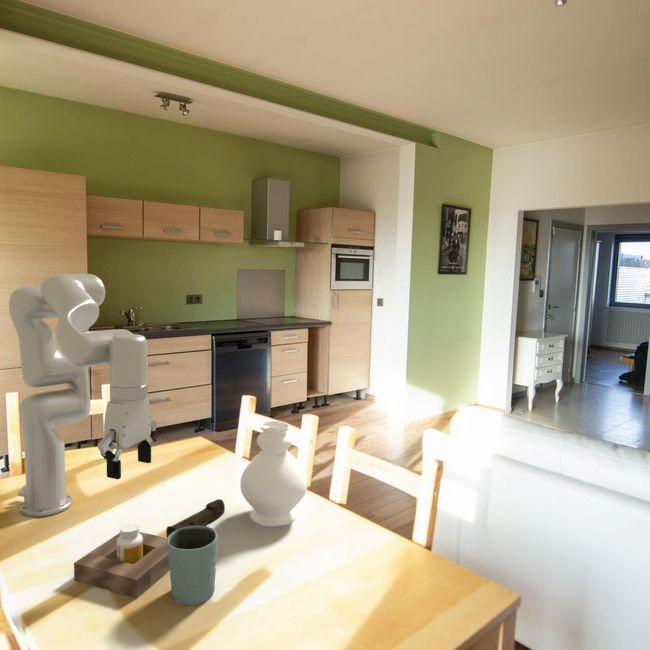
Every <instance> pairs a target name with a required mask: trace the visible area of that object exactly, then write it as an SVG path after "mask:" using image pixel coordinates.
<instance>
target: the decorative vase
mask: <svg viewBox="0 0 650 650" xmlns="http://www.w3.org/2000/svg"><path fill="white" fill-rule="evenodd" d="M260 430H261V431H262V432H261V433H260V434H259V435H258V436H257V438H256V444H257V446H258V447H259V448H260V449H261V451H260V452H259V453H258V454H257V455H255V456H254V457H253V458H252V459H251V460H250V462H249V463H248V464H247V466H246V467H245V469H244V471H243V472H242V475H241V478H240V492H241V494H242V496H243V498H244V499H245V501H247V503H248V504H249V505H250V506H251V508H252V510H251V511H250V512H249V513H250V514H249V517H250V520H251V522H253V523H255V524H256V525H258V526H261V527H267V528H268V527H269V528H271V527H272V528H276V527H278V528H279V527H283V525H284V526H287V525H289V524H292V523H293V522H294V521H296V519H297V518H298V514H297V513H298V512H297V510H296V509H295V507H296V506H297V505H298V504H299V503H300V501H301V500H302V499H303V498H304V497H305V495H306V493H307V490H308V477H307V473H306V471H305V469H304V468H303V466H302V465H301V463H300V462H299V460H297V458H296V457H295V456H294V455H293V454H292V453H291V452H290V451H289V450H288V449H289V448H290V447H291V446H292V444H293V441H294V440H293V436H292V434H291V433H289V432H288V431H289V430H290V424H289V423H288V422H285V421H280V420H279V421H278V420H274V421H273V420H272V421H267V422H265V421H264V422H263V423H261V424H260Z"/></svg>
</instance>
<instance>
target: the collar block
mask: <svg viewBox="0 0 650 650" xmlns="http://www.w3.org/2000/svg"><path fill="white" fill-rule="evenodd" d="M139 534H141V535H142V537H143V558H141V559H140V560H139V561H137V562H136V563H135V564H130V563H126V562H122V561H118V560H117V539H118V538H119V537H120V532H119V533H117V534H115V535H114V536H112V537H111V538H110V539H108V540H107V541H105V542H103V543H102V544H101V545H99V546H98V547H96V548H94V549H93V550H92V551H90V552H88V553H87V554H85V555H83V556H82V557H81V558H79V559H78V560H76V561H75V562H73V578H74V582H76V581H77V582H76V583H80V584H83V583H84V585H87V584H88V585H87V586H91V587H94V586H95V587H94V588H98V589H101V588H102V590H105V589H107V590H106V591H108V590H110V591H109V592H112V591H113V592H112V593H116V594H120V595H123V596H126V597H130V598H135V599H138V598H140V597H141V596H142V595H144V593H145V592H146V591H148V590H149V589H150V588H151V587H152V586H153V585H155V584H156V583H157V582H158V581H159V580H160V579H162V578H163V577H164V576H165V575H166V574H168V572H170V569H169V557H168V548H167V537H163V536H159V535H155V534H152V533H147V532H144V531H139Z"/></svg>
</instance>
